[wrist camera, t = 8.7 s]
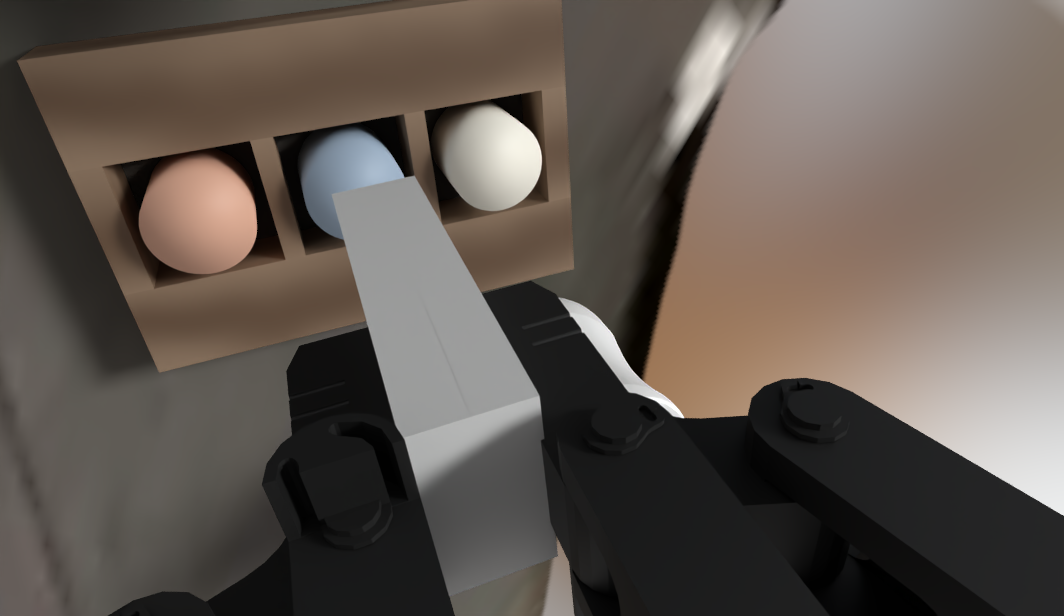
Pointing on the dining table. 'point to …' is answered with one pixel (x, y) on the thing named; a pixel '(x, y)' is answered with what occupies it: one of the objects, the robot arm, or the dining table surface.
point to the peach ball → (199, 211)
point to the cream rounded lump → (486, 154)
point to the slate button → (341, 168)
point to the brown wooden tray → (290, 107)
